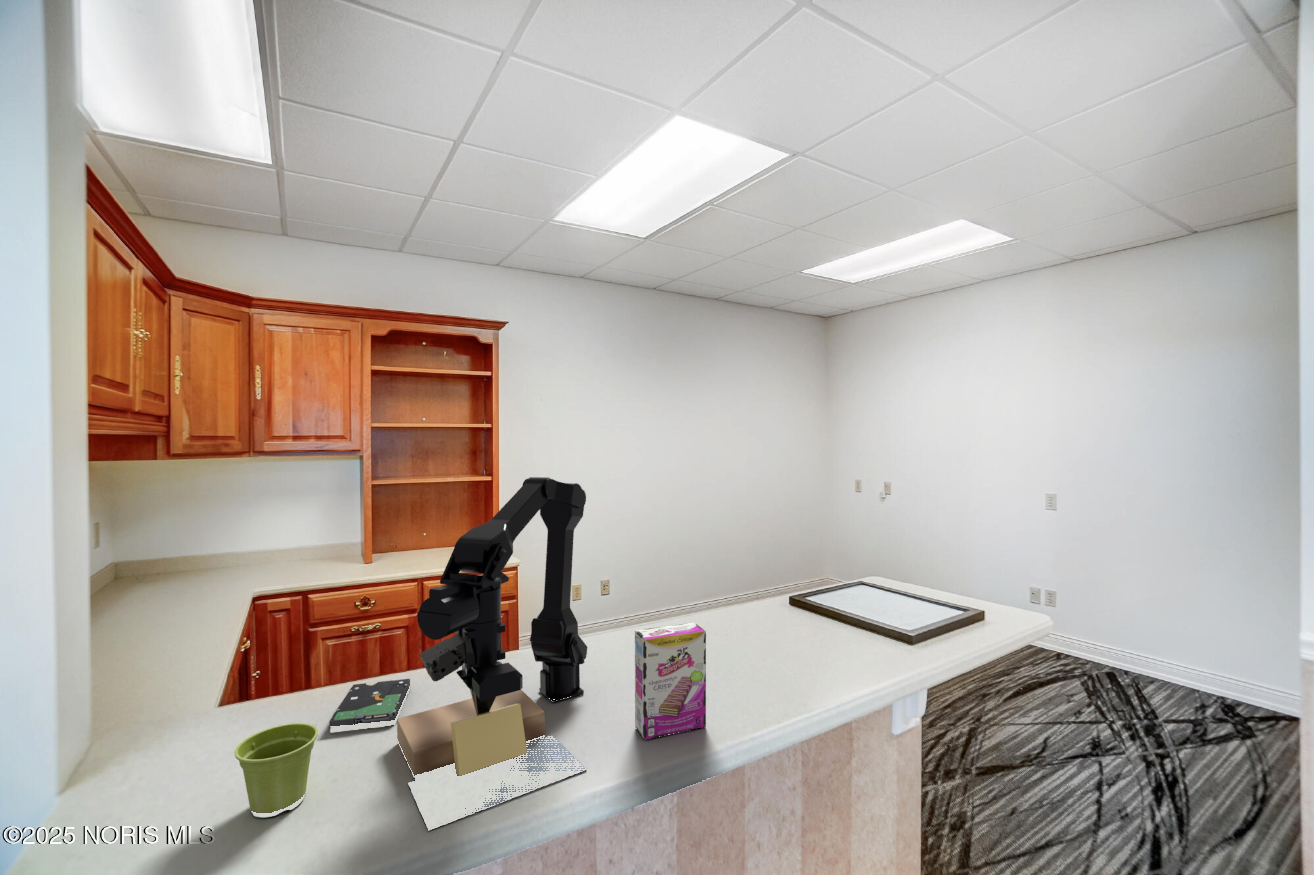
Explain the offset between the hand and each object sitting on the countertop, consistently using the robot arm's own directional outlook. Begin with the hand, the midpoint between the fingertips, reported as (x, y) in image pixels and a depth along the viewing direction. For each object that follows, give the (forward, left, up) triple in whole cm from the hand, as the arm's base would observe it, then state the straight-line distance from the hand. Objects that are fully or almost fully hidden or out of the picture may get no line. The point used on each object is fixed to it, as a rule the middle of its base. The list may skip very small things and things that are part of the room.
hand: (481, 719), depth 88 cm
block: (0, +2, -2) cm, 3 cm away
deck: (0, -6, -6) cm, 8 cm away
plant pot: (+26, -5, -6) cm, 27 cm away
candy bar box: (-28, +10, -6) cm, 31 cm away
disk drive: (+11, -27, -6) cm, 30 cm away
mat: (0, +7, -6) cm, 9 cm away
